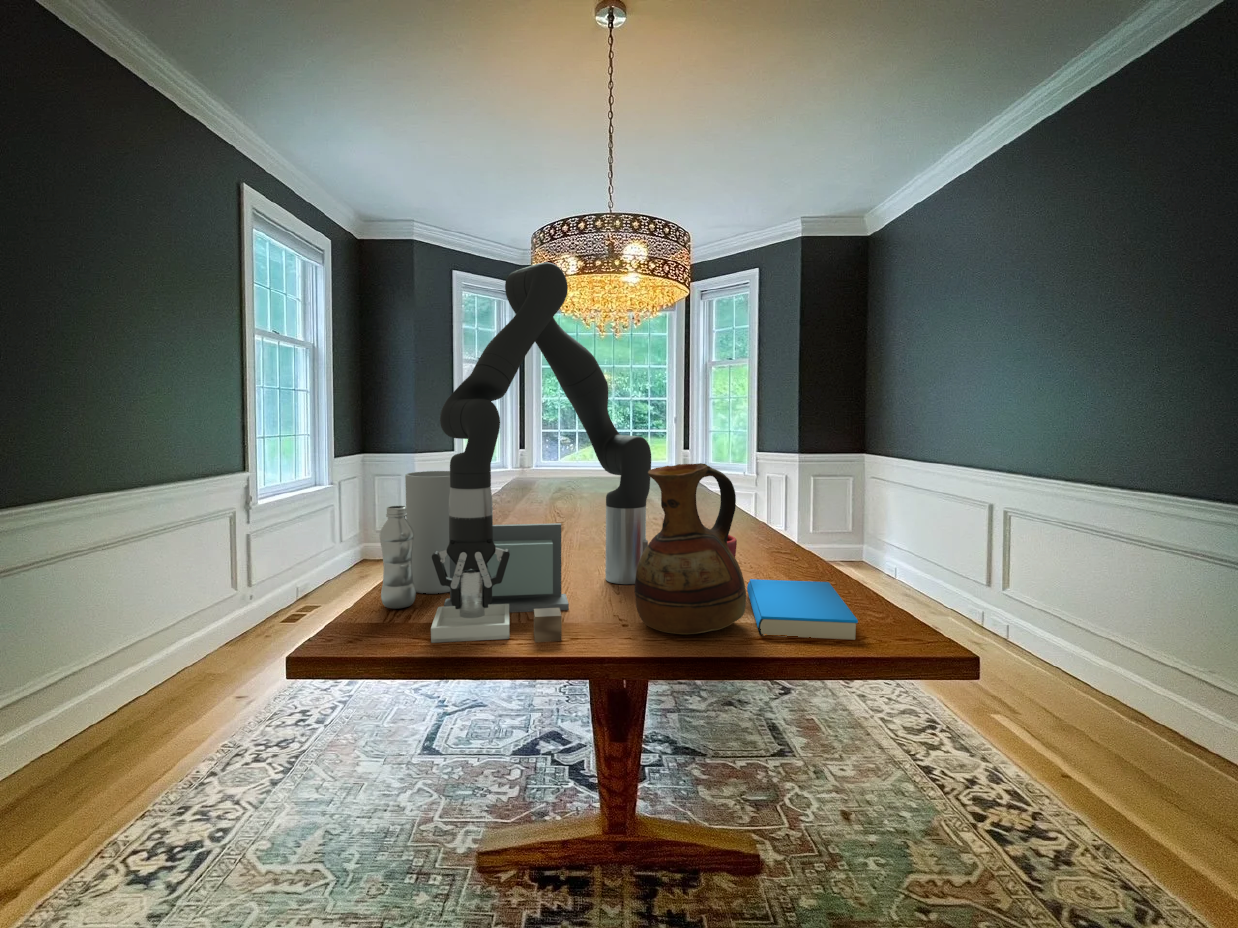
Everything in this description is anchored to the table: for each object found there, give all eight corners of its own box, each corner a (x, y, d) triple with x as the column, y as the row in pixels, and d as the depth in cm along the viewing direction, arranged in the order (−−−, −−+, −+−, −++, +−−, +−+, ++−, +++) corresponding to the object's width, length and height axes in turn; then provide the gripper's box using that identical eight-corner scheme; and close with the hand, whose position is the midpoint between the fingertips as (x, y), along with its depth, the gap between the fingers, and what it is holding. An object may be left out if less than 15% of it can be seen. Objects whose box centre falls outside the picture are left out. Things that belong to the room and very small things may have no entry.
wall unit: (565, 599, 136) (565, 522, 134) (568, 609, 129) (568, 529, 127) (446, 604, 132) (444, 525, 130) (442, 615, 125) (441, 532, 123)
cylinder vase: (474, 580, 150) (472, 471, 148) (455, 595, 138) (453, 477, 135) (421, 578, 151) (419, 470, 149) (397, 593, 139) (395, 476, 137)
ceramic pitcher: (617, 616, 125) (619, 459, 122) (709, 604, 133) (712, 457, 130) (665, 652, 107) (667, 469, 104) (767, 635, 115) (772, 465, 112)
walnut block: (559, 632, 116) (559, 607, 116) (561, 641, 112) (561, 615, 111) (533, 633, 116) (533, 608, 115) (534, 642, 111) (534, 616, 111)
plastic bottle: (423, 604, 132) (421, 505, 130) (401, 614, 125) (399, 510, 124) (396, 600, 134) (394, 503, 132) (373, 610, 127) (371, 508, 126)
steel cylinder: (485, 609, 120) (484, 566, 119) (484, 617, 115) (483, 572, 115) (460, 610, 119) (459, 567, 118) (458, 618, 115) (458, 573, 114)
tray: (509, 616, 124) (509, 603, 124) (509, 638, 113) (509, 624, 112) (438, 619, 122) (438, 606, 122) (431, 642, 110) (430, 628, 110)
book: (828, 581, 138) (859, 618, 113) (827, 601, 138) (858, 642, 113) (745, 578, 140) (758, 614, 115) (745, 598, 140) (758, 638, 115)
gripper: (511, 508, 120) (512, 599, 122) (431, 509, 118) (433, 602, 120) (512, 515, 113) (512, 612, 115) (426, 516, 111) (428, 615, 112)
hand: (472, 606), depth 117 cm, fingers closed on steel cylinder, 4 cm apart
